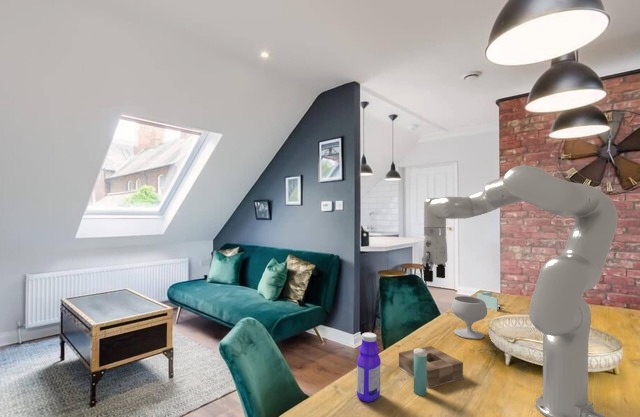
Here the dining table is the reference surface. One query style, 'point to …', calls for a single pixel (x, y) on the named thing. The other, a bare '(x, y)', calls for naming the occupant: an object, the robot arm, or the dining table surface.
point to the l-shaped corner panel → (489, 300)
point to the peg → (420, 371)
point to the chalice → (469, 315)
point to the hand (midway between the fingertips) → (434, 279)
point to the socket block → (433, 366)
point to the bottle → (368, 369)
